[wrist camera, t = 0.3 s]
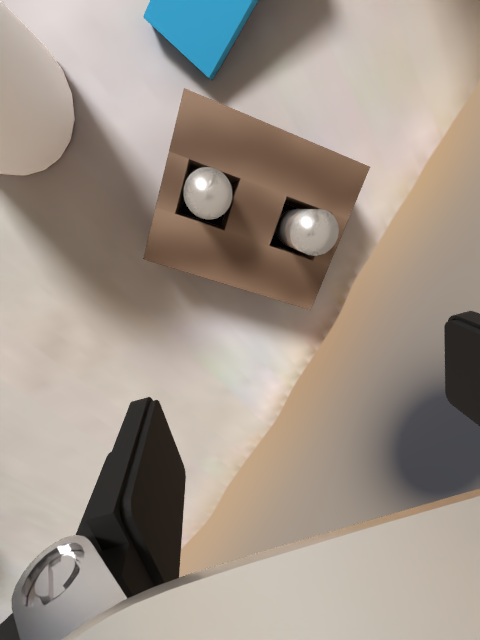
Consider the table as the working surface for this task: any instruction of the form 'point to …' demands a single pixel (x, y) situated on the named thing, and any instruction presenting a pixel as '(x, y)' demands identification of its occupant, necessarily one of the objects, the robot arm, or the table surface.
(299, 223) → the peg
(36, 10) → the table surface
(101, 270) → the table surface
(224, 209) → the peg
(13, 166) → the white jar
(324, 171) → the walnut block
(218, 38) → the blue block
